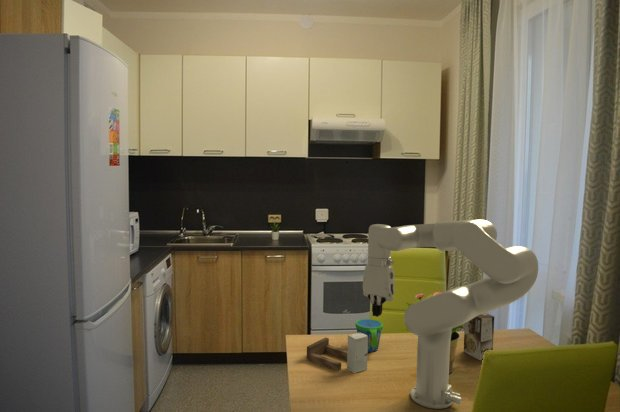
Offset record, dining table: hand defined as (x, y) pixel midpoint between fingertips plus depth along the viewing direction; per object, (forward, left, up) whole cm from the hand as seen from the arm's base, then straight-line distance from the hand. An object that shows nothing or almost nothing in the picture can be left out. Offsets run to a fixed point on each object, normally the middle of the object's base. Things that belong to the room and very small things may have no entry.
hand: (376, 315), depth 144 cm
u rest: (+17, 0, -21) cm, 27 cm away
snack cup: (+13, -18, -21) cm, 31 cm away
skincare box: (+7, 0, -21) cm, 22 cm away
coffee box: (-22, -40, -21) cm, 50 cm away
